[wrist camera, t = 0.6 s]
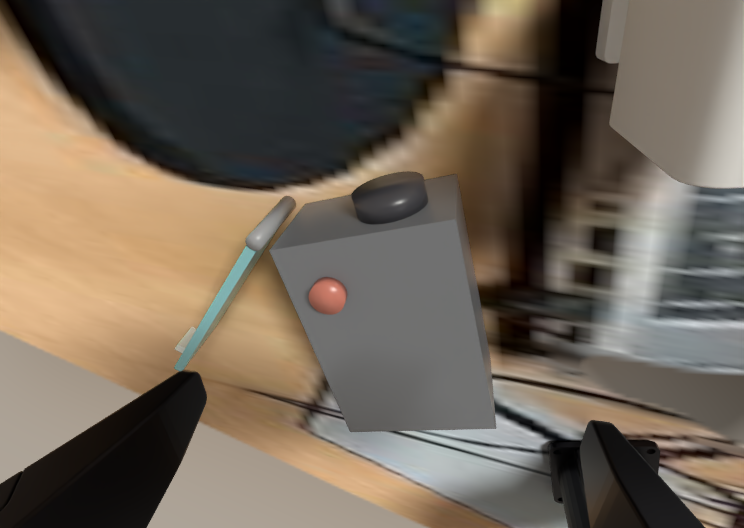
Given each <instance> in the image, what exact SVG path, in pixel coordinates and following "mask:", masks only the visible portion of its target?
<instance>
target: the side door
mask: <svg viewBox="0 0 744 528" xmlns="http://www.w3.org/2000/svg"><path fill="white" fill-rule="evenodd" d="M295 206H296V202H295V200H294V199H293V198H292V197H290V196H285V197H283V198H282V199H281V200H280V201H279V203H278V204H277V205H276V206H275V207H274V208H273V209H272V210H271V211H270V212H269V213H268V215H267V216H266V217H265V218H264V219H263V220H262V221H261V222H260V223H259V224H258V226H257V227H256V228H255V229H254V230H253V231H252V232H251V233H250V234H249V235H248V236H247V238H246V244H247V246H246V247H245V249H244V250H243V252H242V254H241V255H240V257H239V259H238V260H237V262H236V264H235V265H234V267H233V269H232V270H231V272H230V274H229V276H228V277H227V279H226V281H225V282H224V284H223V286H222V287H221V289H220V291H219V292H218V294H217V296H216V298H215V299H214V301H213V303H212V304H211V306H210V308H209V309H208V311H207V313H206V314H205V316H204V318H203V319H202V321H201V323H200V325H199V326H198V328H197V329H196V328H194V327H191V328H190V329H189V331H188V332H187V333H186V334H185V336H184V337H183V338H182V339H181V340H180V342H179V343H178V344H177V346H176V348H175V350H177V351H178V352H180V353H182V355H181V357H180V358H179V360H178V362H177V363H176V365H175V367H174V369H176V370H178V371H182V370H184V368H185V367H186V366H187V364H188V363H189V362H190V360H191V359H192V358H193V356H194V355H195V354H196V353H197V351H198V350H199V349H200V347H201V346H202V345H203V343H204V342H205V341H206V339H207V338H208V337H209V335H210V334H211V333H212V331H213V330H214V329H215V327H216V326H217V325H218V323H219V321H220V320H221V318H222V317H223V315H224V313H225V312H226V310H227V309H228V307H229V306H230V304H231V302H232V301H233V299H234V298H235V296H236V294H237V293H238V291H239V290H240V288H241V287H242V285H243V283H244V282H245V280H246V279H247V277H248V275H249V274H250V272H251V271H252V269H253V268H254V266H255V264H256V263H257V261H258V260H259V258H260V256H261V255H262V253H263V252H264V250H265V249H266V247H267V245H268V244H269V242H270V241H271V239H272V237H273V236H274V234H275V233H276V231H277V229H278V228H279V227H280V225H281V224H282V223H283V222H284V220H285V219H286V218H287V217H288V215H289V214H290V213H291V212H292V211H293V209H294V208H295Z"/></svg>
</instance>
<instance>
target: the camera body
mask: <svg viewBox="0 0 744 528" xmlns="http://www.w3.org/2000/svg"><path fill="white" fill-rule="evenodd" d="M269 251H270V253H271V256H272V258H273V260H274V262H275V265H276V267H277V269H278V271H279V274H280V276H281V278H282V280H283V282H284V285H285V287H286V289H287V291H288V294H289V296H290V298H291V300H292V303H293V305H294V307H295V309H296V312H297V314H298V316H299V318H300V321H301V323H302V325H303V327H304V330H305V332H306V334H307V336H308V339H309V341H310V343H311V345H312V347H313V350H314V352H315V354H316V356H317V359H318V361H319V363H320V365H321V368H322V370H323V372H324V374H325V377H326V379H327V381H328V383H329V386H330V388H331V390H332V392H333V395H334V397H335V399H336V401H337V404H338V406H339V408H340V410H341V412H342V415H343V417H344V419H345V421H346V424H347V426H348V428H349V430H350V432H372V431H415V430H458V429H496V421H495V409H494V396H493V384H492V372H491V360H490V354H489V348H488V343H487V337H486V332H485V326H484V321H483V315H482V310H481V304H480V299H479V293H478V288H477V282H476V276H475V271H474V265H473V260H472V254H471V249H470V243H469V238H468V232H467V227H466V221H465V216H464V210H463V205H462V199H461V194H460V188H459V182H458V177H457V174H453V175H448V176H443V177H438V178H433V179H428V180H424V177H423V175H422V174H420V173H417V172H398V173H392V174H388V175H384V176H381V177H378V178H375V179H373V180H370V181H368V182H366V183H364V184H362V185H361V186H359V187H358V188H357V189H355V190H354V191H353V193H352V195H348V196H343V197H338V198H333V199H328V200H323V201H318V202H313V203H308V204H305V205H304V206H303V208H302V209H301V210H300V212H299V213H298V214H297V215H296V217H295V218H294V219H293V221H292V222H291V223H290V224H289V226H288V227H287V228H286V230H285V231H284V232H283V233H282V235H281V236H280V237H279V239H278V240H277V241H276V243H275V244H274V245H273V246H272V248H271V249H270V250H269Z"/></svg>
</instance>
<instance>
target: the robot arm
mask: <svg viewBox="0 0 744 528" xmlns="http://www.w3.org/2000/svg"><path fill="white" fill-rule="evenodd" d="M206 400H207V394H206V391H205V388H204V385H203V382H202V379H201V376H200V374H199V373H198V372H195V371H187V370H182V371H180V372H178V373H176V374H174V375H173V376H171V377H170V378H168V379H167V380H165V381H163V382H162V383H160V384H159V385H157V386H155V387H154V388H152V389H151V390H149V391H147V392H146V393H144V394H143V395H141V396H139V397H138V398H136V399H135V400H133V401H132V402H130V403H128V404H127V405H125V406H124V407H122V408H120V409H119V410H117V411H116V412H114V413H112V414H111V415H110V416H108V417H106V418H105V419H103V420H101V421H100V422H98V423H97V424H95V425H93V426H92V427H90V428H89V429H87V430H86V431H84V432H82V433H81V434H79V435H78V436H76V437H74V438H73V439H71V440H70V441H68V442H66V443H65V444H63V445H62V446H60V447H59V448H57V449H55V450H54V451H52V452H50V453H49V454H47V455H46V456H44V457H43V458H41V459H39V460H38V461H36V462H35V463H33V464H31V465H30V466H28V467H27V468H25V470H24V471H21V472H19V473H17V474H15V475H14V476H12V477H11V478H9V479H7V480H6V481H5V482H3V483H1V484H0V528H147V526H148V524H149V522H150V520H151V518H152V516H153V515H154V513H155V511H156V509H157V507H158V505H159V503H160V501H161V500H162V498H163V496H164V494H165V492H166V490H167V488H168V487H169V485H170V483H171V481H172V479H173V477H174V475H175V473H176V471H177V469H178V467H179V465H180V464H181V461H182V459H183V457H184V455H185V453H186V450H187V448H188V445H189V443H190V441H191V438H192V436H193V433H194V431H195V429H196V426H197V424H198V421H199V419H200V416H201V414H202V412H203V409H204V407H205V404H206ZM548 450H549V459H550V468H551V478H552V487H553V495H554V500H555V501H556V502H557V503H563V504H564V509H565V514H566V519H567V524H568V528H705V527H704V526H703V525H702V523H701V522H700V521H699V520H698V519H697V518H696V517H695V516H694V514H693V513H692V512H691V511H690V510H689V509H688V508H687V507H686V505H685V504H684V503H683V502H682V501H681V500H680V499H679V498H678V496H677V495H676V494H675V493H674V492H673V491H672V490H671V489H670V487H669V486H668V485H667V484H666V483H665V482H664V481H663V480H662V478H661V477H660V476H659V475H658V468H659V457H660V450H659V447H658V445H657V444H656V443H655V442H653V441H628V440H627V439H626V438H625V437H624V436H623V435H622V433H621V432H620V431H619V430H618V429H617V428H616V427H615V426H614V425H613V424H612V423H609V422H603V421H595V420H591V421H590V422H589V423H588V425H587V428H586V431H585V433H584V436H583V439H582V442H554V443H551V444H549V446H548Z"/></svg>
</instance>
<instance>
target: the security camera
mask: <svg viewBox="0 0 744 528" xmlns="http://www.w3.org/2000/svg"><path fill="white" fill-rule="evenodd" d="M596 57H597V58H598V59H600V60H603V61H605V62H607V63H619V66H618V72H617V79H616V85H615V91H614V97H613V103H612V109H611V115H610V121H609V125H610V127H612V128H613V129H614V130H615V131H616V132H618V133H619V134H620V135H621V136H622V137H624V138H625V139H626V140H627V141H628V142H630V143H631V144H632V145H633V146H634V147H636V148H637V149H638V150H639V151H640V152H642V153H643V154H644V155H645V156H646V157H648V158H649V159H650V160H651V161H652V162H654V163H655V164H656V165H657V166H658V167H660V168H661V169H662V170H663V171H664V172H666V173H667V174H668V175H669V176H670V177H672V178H673V179H675V180H677V181H679V182H682V183H685V184H688V185H693V186H698V187H706V188H744V0H603V2H602V9H601V17H600V24H599V31H598V39H597V46H596Z"/></svg>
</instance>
